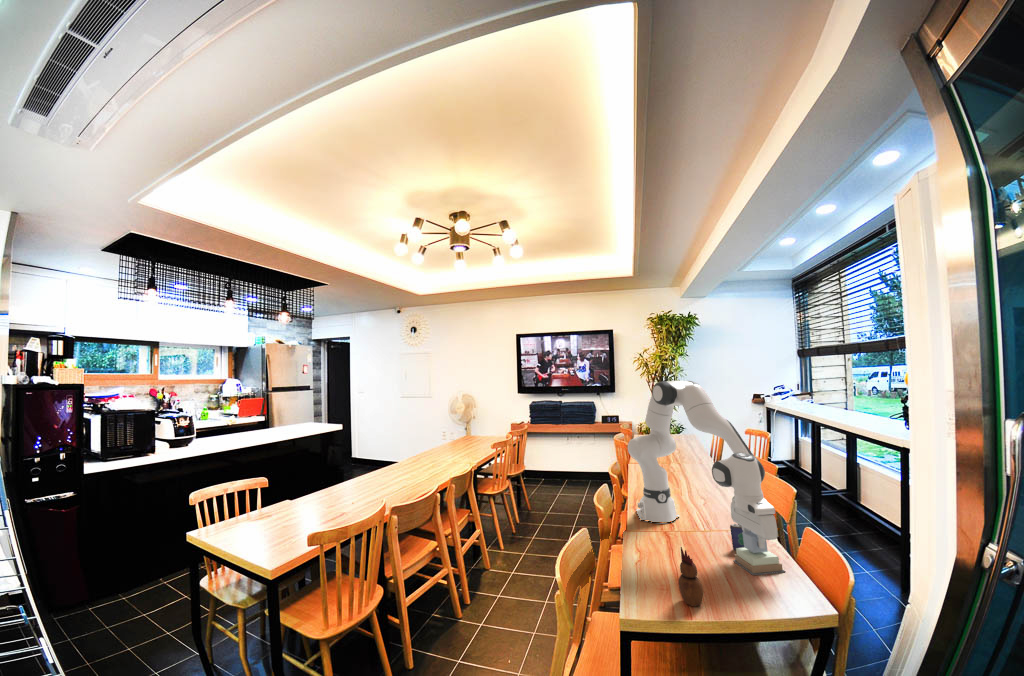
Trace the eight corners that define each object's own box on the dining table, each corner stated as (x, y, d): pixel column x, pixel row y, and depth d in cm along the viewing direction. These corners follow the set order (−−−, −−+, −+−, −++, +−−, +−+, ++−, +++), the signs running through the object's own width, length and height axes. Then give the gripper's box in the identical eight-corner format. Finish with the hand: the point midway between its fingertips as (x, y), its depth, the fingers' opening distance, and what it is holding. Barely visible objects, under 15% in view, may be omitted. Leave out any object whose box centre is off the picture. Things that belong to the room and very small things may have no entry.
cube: (744, 547, 140) (742, 532, 141) (758, 545, 140) (756, 530, 141) (753, 552, 135) (751, 537, 136) (767, 551, 135) (765, 536, 136)
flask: (760, 550, 149) (756, 520, 150) (762, 553, 146) (757, 523, 148) (732, 548, 152) (728, 519, 154) (733, 551, 150) (729, 521, 151)
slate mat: (733, 561, 142) (733, 559, 142) (763, 558, 143) (763, 557, 143) (753, 575, 131) (752, 574, 131) (785, 572, 132) (785, 571, 132)
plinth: (735, 560, 142) (733, 547, 142) (762, 557, 142) (761, 545, 143) (753, 573, 132) (751, 559, 132) (782, 570, 132) (780, 556, 133)
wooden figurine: (677, 598, 121) (671, 545, 122) (695, 596, 121) (689, 543, 123) (688, 610, 114) (682, 554, 116) (708, 608, 114) (701, 552, 116)
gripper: (723, 494, 150) (728, 533, 148) (759, 511, 129) (765, 556, 128) (740, 493, 150) (745, 532, 148) (778, 510, 130) (784, 555, 128)
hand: (755, 544), depth 138 cm, fingers closed on cube, 5 cm apart
